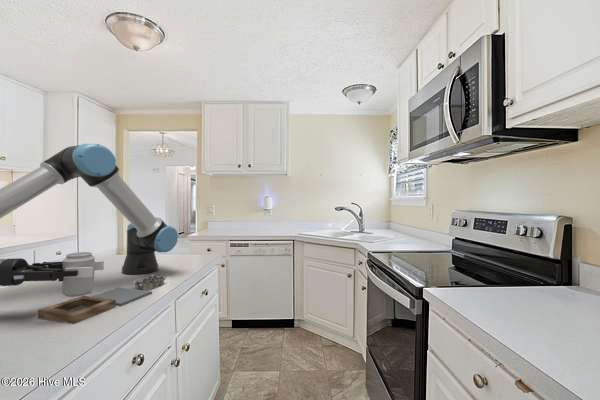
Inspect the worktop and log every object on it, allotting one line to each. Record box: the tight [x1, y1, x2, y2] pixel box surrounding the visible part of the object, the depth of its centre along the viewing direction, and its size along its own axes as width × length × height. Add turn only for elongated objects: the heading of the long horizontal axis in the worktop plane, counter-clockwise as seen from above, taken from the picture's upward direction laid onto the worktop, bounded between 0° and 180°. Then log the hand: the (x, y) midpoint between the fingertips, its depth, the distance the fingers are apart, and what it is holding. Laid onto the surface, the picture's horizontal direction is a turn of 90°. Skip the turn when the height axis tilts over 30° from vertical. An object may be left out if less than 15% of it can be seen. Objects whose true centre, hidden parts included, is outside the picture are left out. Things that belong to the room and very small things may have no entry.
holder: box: [37, 295, 117, 325], centre depth 85 cm, size 13×13×2 cm
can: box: [61, 251, 96, 298], centre depth 84 cm, size 8×8×12 cm
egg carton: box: [133, 273, 167, 291], centre depth 111 cm, size 11×8×4 cm
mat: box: [90, 287, 153, 307], centre depth 98 cm, size 13×15×1 cm
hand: (97, 268), depth 86 cm, fingers closed on can, 7 cm apart
